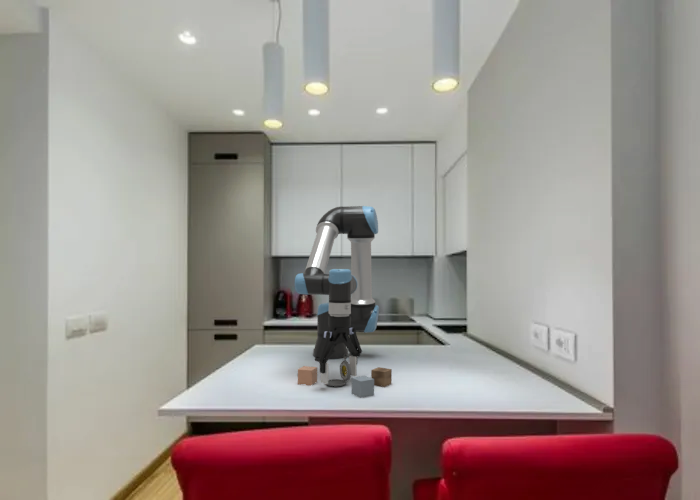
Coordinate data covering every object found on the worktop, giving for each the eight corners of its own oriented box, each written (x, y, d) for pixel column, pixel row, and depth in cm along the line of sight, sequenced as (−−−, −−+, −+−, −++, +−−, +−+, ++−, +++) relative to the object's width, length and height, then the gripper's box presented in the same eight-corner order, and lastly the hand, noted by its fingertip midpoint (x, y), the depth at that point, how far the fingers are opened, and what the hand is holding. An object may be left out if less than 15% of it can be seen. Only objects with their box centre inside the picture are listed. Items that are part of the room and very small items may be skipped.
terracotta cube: (297, 384, 150) (297, 369, 150) (303, 380, 155) (303, 366, 155) (311, 385, 148) (311, 370, 148) (317, 382, 153) (317, 367, 153)
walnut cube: (371, 385, 150) (371, 370, 150) (378, 381, 154) (378, 367, 154) (384, 387, 147) (384, 372, 147) (391, 384, 151) (391, 369, 151)
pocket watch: (322, 385, 148) (322, 355, 148) (334, 380, 155) (334, 350, 156) (343, 389, 144) (344, 357, 144) (355, 383, 152) (356, 353, 152)
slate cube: (351, 393, 140) (351, 377, 140) (364, 391, 142) (365, 375, 142) (360, 398, 135) (360, 381, 135) (374, 395, 138) (374, 379, 138)
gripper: (320, 319, 139) (319, 388, 138) (372, 313, 157) (371, 374, 157) (304, 317, 144) (303, 384, 143) (356, 311, 162) (355, 370, 162)
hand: (339, 379), depth 150 cm, fingers open, 13 cm apart
